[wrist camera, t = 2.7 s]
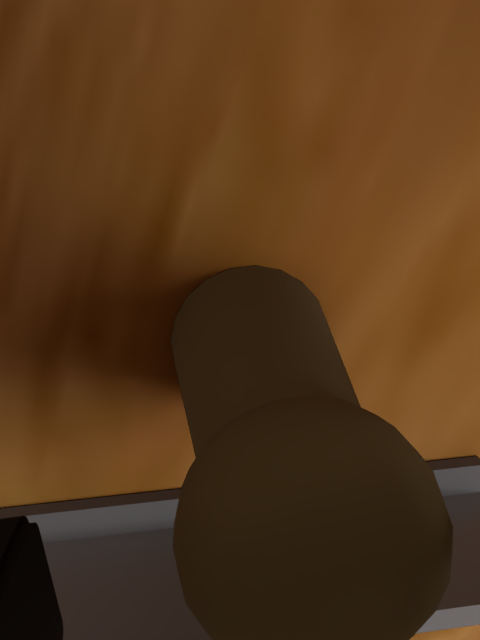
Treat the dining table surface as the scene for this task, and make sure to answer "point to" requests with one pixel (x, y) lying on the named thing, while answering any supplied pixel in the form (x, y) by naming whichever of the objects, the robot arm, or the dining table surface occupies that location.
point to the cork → (295, 478)
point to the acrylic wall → (161, 570)
